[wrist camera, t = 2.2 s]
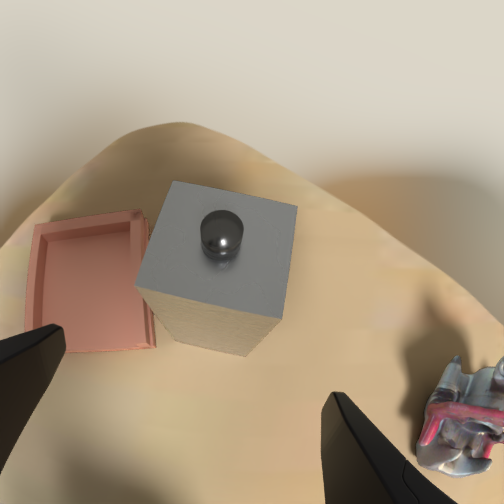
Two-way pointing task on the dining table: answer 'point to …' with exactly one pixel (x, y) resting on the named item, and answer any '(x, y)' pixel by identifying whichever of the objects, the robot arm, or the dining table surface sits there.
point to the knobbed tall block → (218, 266)
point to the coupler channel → (91, 281)
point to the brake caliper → (463, 421)
